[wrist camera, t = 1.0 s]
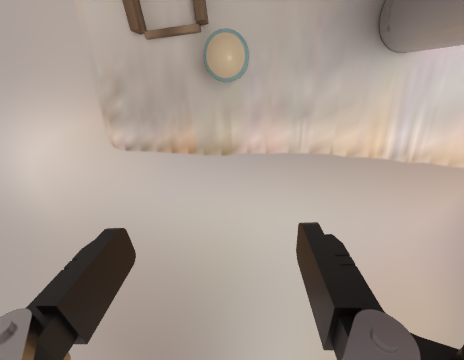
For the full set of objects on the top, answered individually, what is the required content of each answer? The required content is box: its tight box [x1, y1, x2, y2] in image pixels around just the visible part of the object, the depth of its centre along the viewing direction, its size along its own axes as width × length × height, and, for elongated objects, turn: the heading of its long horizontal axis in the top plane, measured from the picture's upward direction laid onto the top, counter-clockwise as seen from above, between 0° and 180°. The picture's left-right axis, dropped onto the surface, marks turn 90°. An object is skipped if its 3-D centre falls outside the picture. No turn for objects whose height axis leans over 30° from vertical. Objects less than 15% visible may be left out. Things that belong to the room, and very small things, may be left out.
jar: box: [204, 29, 249, 82], centre depth 26 cm, size 5×5×10 cm
